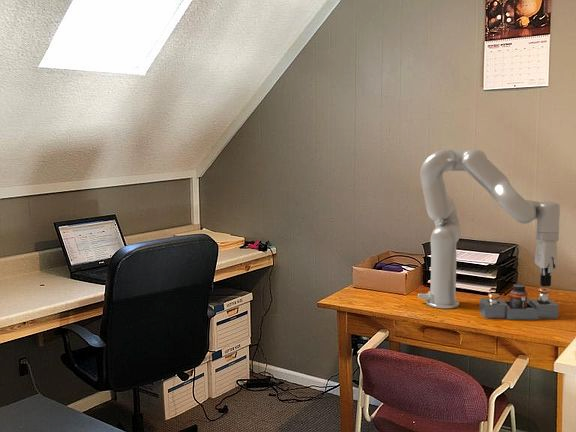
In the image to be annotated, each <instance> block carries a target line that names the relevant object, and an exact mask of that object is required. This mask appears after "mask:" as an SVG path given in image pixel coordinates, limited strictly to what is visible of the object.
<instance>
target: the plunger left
mask: <svg viewBox="0 0 576 432" xmlns="http://www.w3.org/2000/svg"><path fill="white" fill-rule="evenodd" d="M500 297H501V296H500V293H495V292H491V293H490V292H489V293H488V294H487V299H489V303H498V299H500Z"/></svg>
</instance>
